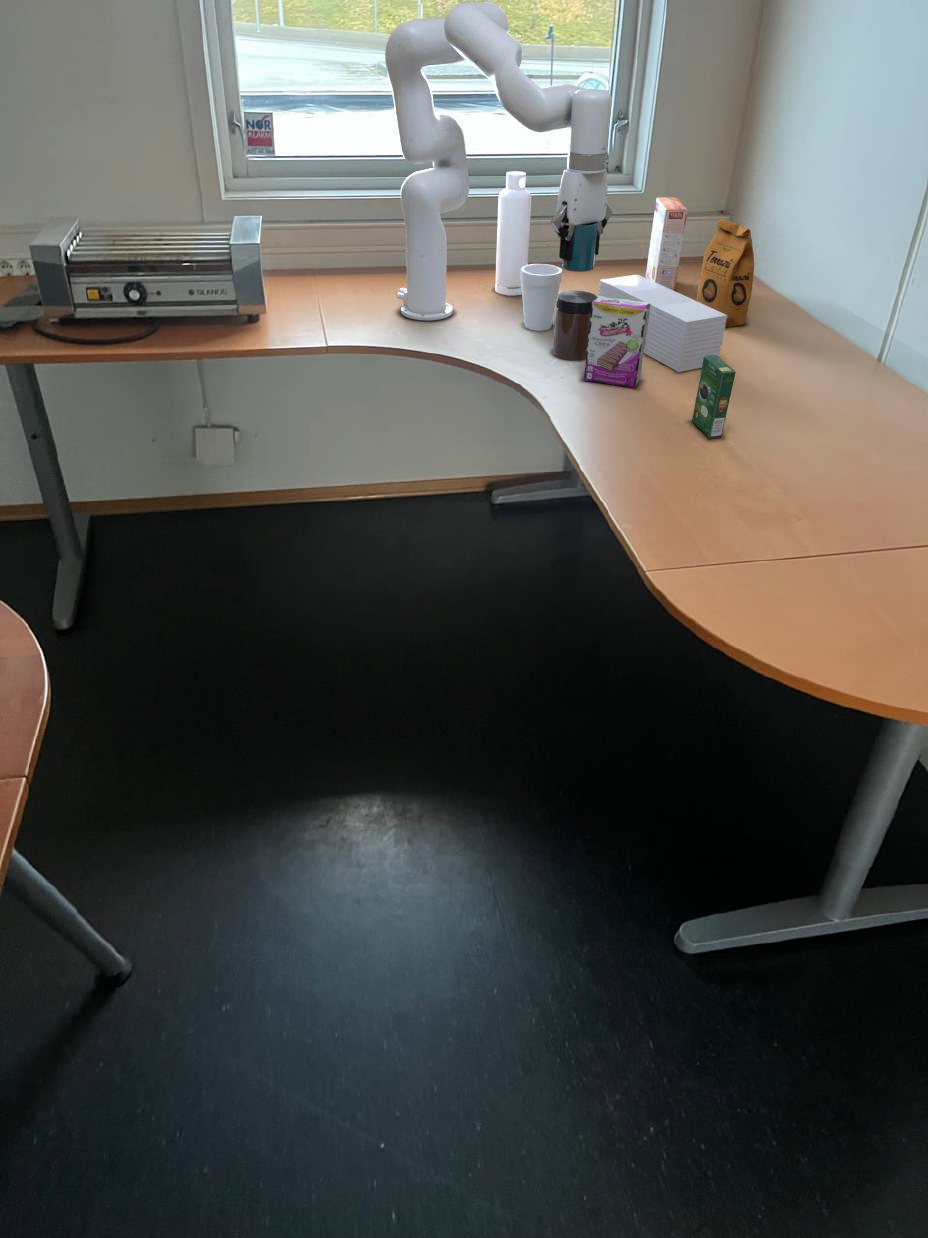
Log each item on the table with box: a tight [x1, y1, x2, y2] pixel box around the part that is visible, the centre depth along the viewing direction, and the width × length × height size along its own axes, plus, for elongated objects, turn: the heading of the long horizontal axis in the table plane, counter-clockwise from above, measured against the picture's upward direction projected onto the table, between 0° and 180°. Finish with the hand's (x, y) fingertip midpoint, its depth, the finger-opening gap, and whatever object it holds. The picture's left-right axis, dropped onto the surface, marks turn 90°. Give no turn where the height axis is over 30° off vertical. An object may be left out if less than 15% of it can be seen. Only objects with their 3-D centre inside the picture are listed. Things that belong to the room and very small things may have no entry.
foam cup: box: [520, 263, 563, 332], centre depth 213 cm, size 10×9×13 cm
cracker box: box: [644, 196, 688, 292], centre depth 237 cm, size 14×6×21 cm, turn 179°
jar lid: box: [555, 290, 597, 314], centre depth 196 cm, size 8×8×2 cm
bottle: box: [494, 170, 532, 296], centre depth 230 cm, size 8×8×28 cm
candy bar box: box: [583, 295, 651, 389], centre depth 185 cm, size 11×5×16 cm, turn 71°
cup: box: [561, 222, 598, 273], centre depth 189 cm, size 7×7×9 cm
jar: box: [552, 306, 591, 362], centre depth 199 cm, size 8×8×12 cm
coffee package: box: [696, 218, 755, 328], centre depth 216 cm, size 10×12×22 cm
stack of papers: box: [597, 274, 727, 373], centre depth 205 cm, size 32×11×11 cm, turn 27°
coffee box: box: [691, 355, 737, 440], centre depth 168 cm, size 8×3×13 cm, turn 13°
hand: (578, 255), depth 190 cm, fingers closed on cup, 6 cm apart
